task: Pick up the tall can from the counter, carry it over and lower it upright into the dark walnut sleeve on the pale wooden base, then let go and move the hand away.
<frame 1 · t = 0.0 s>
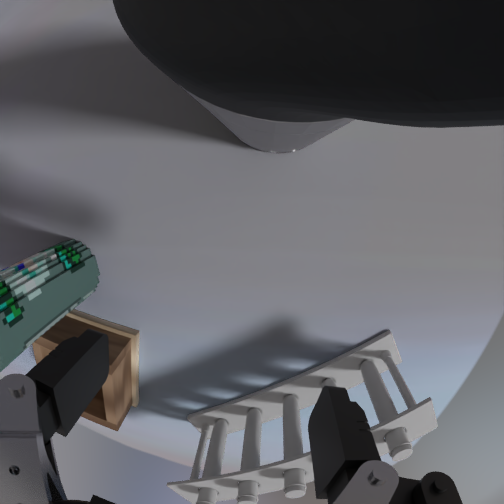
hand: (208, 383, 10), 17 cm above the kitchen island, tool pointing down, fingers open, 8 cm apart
can: (76, 268, 28), on the kitchen island
sleeve holder: (96, 355, 31), on the kitchen island
test tube rack: (289, 392, 31), on the kitchen island
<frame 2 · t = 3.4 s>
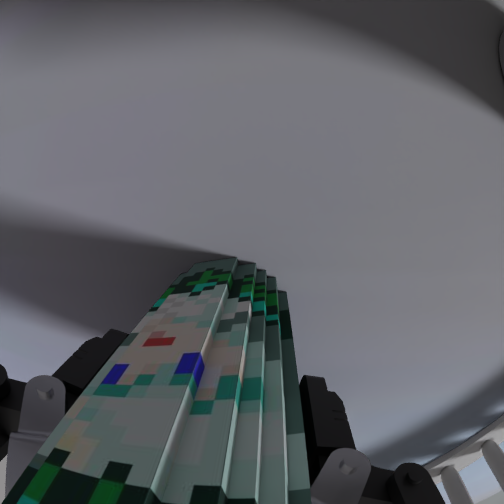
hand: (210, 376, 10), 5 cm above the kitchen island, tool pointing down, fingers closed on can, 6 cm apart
can: (228, 317, 15), on the kitchen island, touching gripper
test tube rack: (482, 437, 18), on the kitchen island
when the fingers open (8 cm above the kitchen island, at t = 8.9 s): can drops 2 cm, resting on sleeve holder.
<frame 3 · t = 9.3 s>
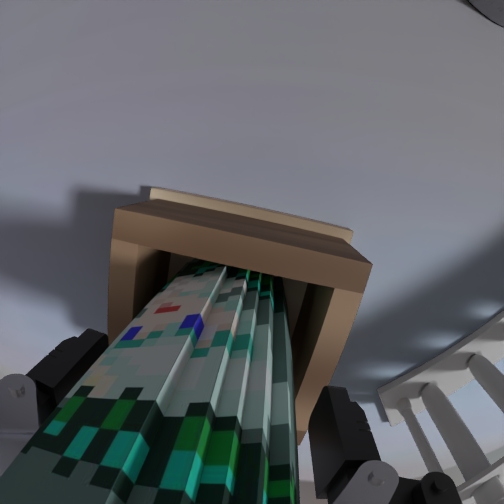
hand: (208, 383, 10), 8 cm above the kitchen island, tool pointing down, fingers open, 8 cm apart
can: (230, 300, 17), point 1 cm above the kitchen island, touching sleeve holder
sleeve holder: (233, 298, 18), on the kitchen island
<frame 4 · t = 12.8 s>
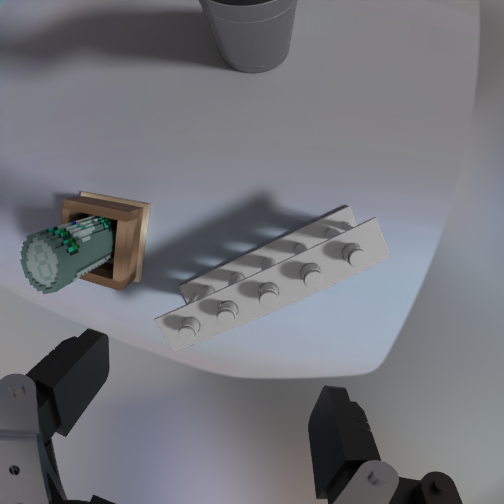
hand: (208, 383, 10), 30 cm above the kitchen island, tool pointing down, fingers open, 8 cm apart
can: (108, 234, 39), point 1 cm above the kitchen island, touching sleeve holder
sleeve holder: (111, 235, 40), on the kitchen island
test tube rack: (268, 261, 40), on the kitchen island
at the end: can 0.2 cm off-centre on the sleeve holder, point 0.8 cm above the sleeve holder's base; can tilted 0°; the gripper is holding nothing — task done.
